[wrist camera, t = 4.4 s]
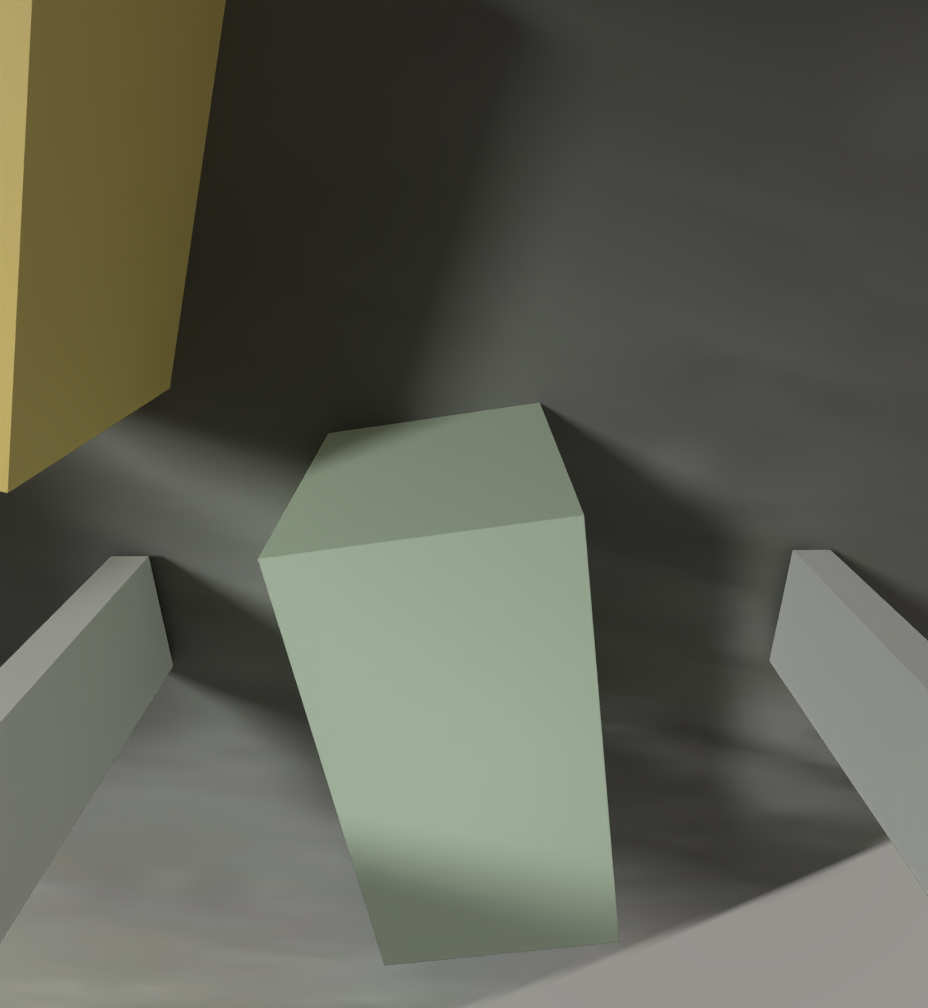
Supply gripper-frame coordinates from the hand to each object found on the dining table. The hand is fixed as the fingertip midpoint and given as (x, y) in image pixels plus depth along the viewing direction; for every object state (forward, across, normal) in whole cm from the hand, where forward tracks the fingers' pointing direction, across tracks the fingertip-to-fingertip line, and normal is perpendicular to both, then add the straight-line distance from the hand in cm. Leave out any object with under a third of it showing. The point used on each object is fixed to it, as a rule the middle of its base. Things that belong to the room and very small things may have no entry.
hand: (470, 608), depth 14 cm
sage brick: (0, 0, 0) cm, 0 cm away
